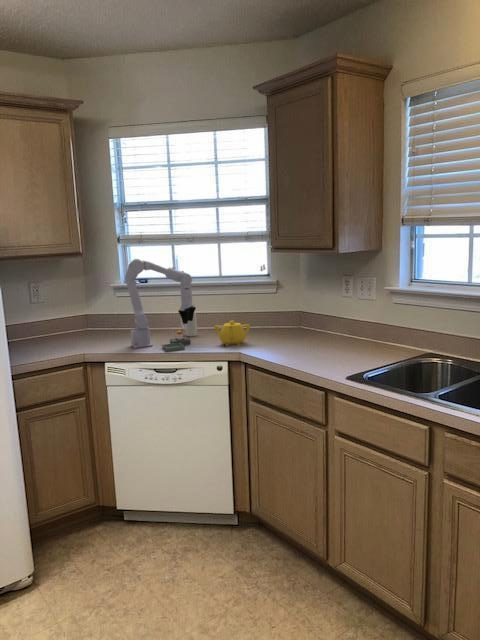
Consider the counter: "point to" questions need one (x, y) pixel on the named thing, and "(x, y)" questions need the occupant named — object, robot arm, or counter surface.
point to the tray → (173, 347)
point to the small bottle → (179, 335)
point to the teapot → (232, 333)
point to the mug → (190, 326)
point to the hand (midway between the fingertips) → (187, 322)
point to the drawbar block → (181, 341)
